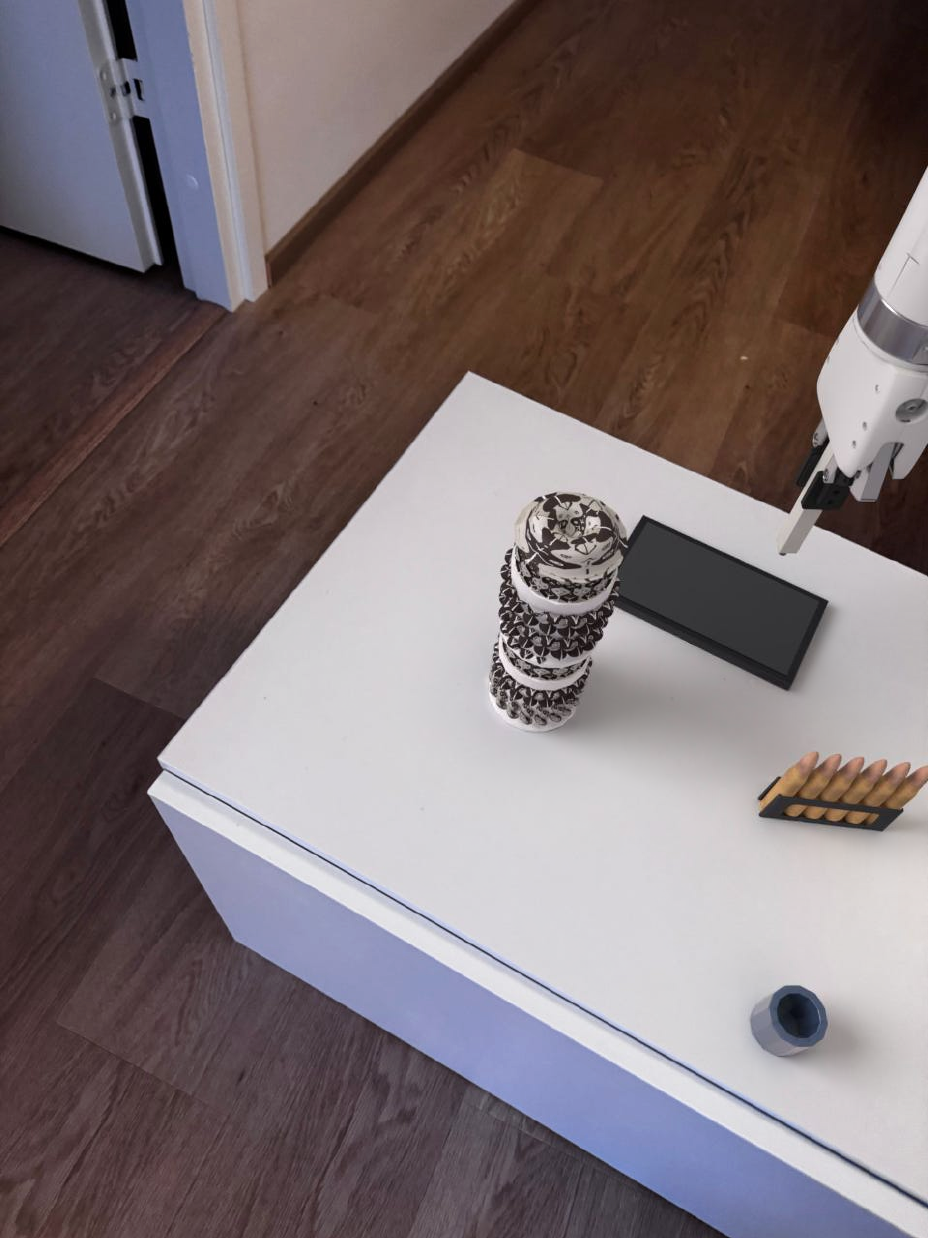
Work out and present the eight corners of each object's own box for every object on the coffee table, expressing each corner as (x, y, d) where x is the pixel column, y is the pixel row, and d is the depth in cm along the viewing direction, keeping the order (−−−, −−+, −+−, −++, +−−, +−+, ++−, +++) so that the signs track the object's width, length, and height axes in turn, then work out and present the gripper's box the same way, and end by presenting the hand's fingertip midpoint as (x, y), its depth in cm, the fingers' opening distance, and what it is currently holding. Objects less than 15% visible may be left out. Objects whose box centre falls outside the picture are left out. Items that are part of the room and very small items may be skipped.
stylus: (789, 545, 85) (850, 440, 74) (792, 560, 85) (855, 456, 73) (771, 545, 85) (830, 440, 74) (774, 560, 84) (834, 455, 73)
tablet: (825, 606, 96) (829, 600, 95) (787, 691, 90) (791, 685, 89) (640, 520, 100) (643, 513, 99) (594, 596, 95) (596, 589, 94)
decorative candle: (474, 724, 87) (496, 562, 66) (495, 638, 92) (521, 461, 71) (575, 747, 86) (629, 590, 65) (590, 659, 91) (646, 486, 70)
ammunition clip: (757, 818, 83) (805, 762, 73) (755, 798, 84) (803, 740, 74) (881, 833, 83) (947, 779, 73) (878, 813, 84) (943, 756, 74)
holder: (797, 998, 76) (820, 984, 71) (808, 1057, 73) (833, 1046, 69) (744, 999, 75) (764, 985, 71) (754, 1057, 73) (775, 1047, 69)
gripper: (1015, 404, 59) (885, 576, 74) (942, 238, 67) (839, 424, 83) (894, 401, 58) (789, 574, 74) (836, 234, 67) (753, 422, 82)
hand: (816, 494), depth 78 cm, fingers closed on stylus, 1 cm apart
